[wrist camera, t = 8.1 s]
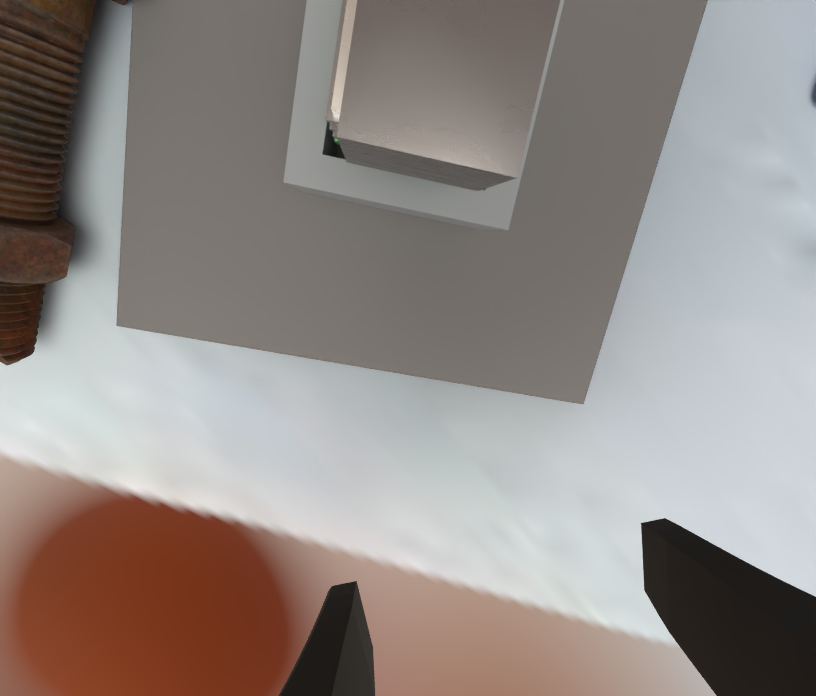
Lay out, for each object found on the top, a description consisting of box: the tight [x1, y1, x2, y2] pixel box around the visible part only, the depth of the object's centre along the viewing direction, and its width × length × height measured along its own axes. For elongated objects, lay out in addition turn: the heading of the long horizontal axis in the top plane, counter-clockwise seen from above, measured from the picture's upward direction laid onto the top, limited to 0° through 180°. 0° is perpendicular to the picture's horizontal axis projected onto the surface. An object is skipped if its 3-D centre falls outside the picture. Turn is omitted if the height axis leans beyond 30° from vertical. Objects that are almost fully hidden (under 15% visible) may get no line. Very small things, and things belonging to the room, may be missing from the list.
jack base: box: [117, 0, 708, 404], centre depth 16 cm, size 20×20×5 cm
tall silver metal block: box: [325, 0, 560, 191], centre depth 11 cm, size 4×6×8 cm
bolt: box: [0, 0, 127, 365], centre depth 16 cm, size 6×5×15 cm
